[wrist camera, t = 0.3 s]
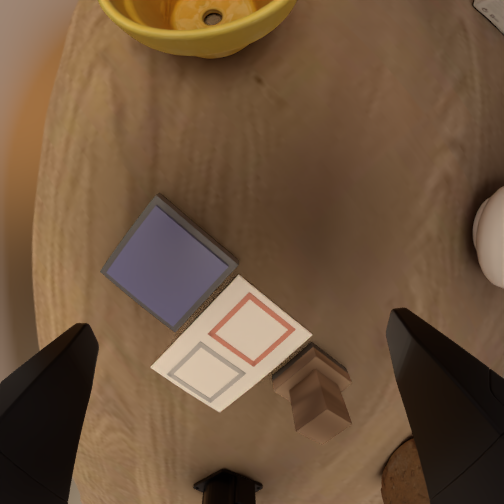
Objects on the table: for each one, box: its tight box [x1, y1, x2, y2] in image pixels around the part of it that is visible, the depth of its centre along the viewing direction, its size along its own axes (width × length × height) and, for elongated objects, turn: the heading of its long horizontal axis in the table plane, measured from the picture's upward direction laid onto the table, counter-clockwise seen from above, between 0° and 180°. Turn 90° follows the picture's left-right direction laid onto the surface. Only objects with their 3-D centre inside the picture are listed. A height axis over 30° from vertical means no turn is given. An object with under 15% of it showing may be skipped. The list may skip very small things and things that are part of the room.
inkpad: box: [100, 193, 239, 332], centre depth 23 cm, size 8×8×1 cm
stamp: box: [272, 342, 352, 445], centre depth 24 cm, size 5×5×7 cm
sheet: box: [151, 274, 312, 412], centre depth 26 cm, size 12×8×1 cm, turn 138°
